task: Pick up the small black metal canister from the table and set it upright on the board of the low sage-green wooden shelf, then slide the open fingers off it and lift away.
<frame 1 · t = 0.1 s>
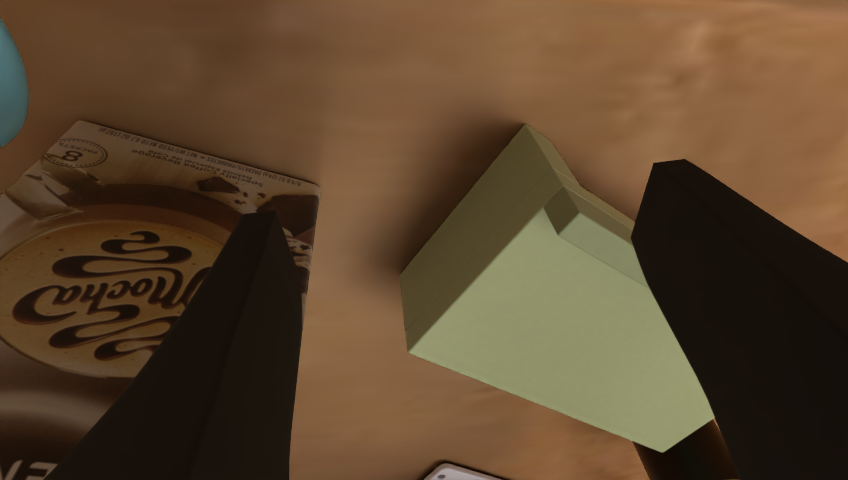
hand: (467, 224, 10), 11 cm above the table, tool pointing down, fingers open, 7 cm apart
shelf: (585, 276, 26), on the table
coffee box: (197, 212, 22), on the table
canister: (660, 410, 34), on the table
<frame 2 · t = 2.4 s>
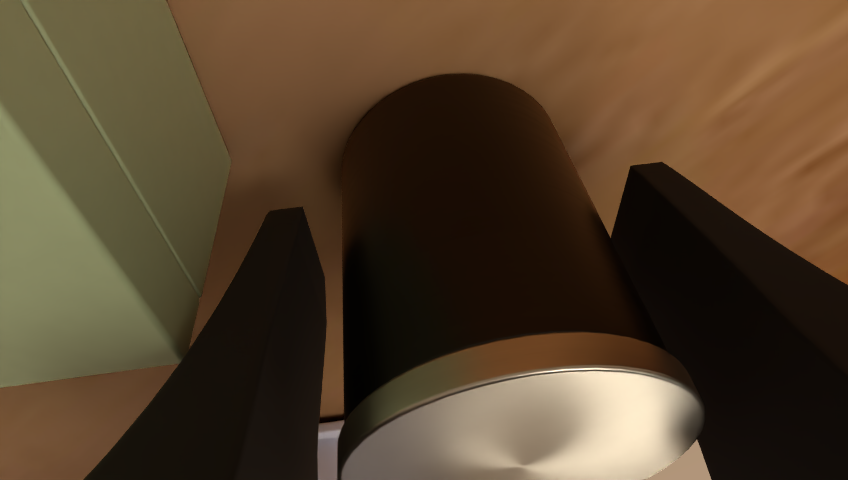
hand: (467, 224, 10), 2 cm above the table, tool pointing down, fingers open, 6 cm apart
canister: (450, 172, 12), on the table
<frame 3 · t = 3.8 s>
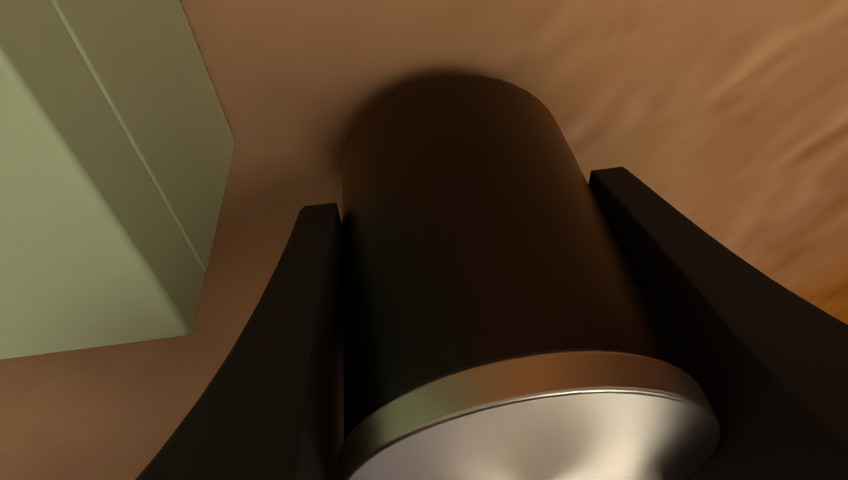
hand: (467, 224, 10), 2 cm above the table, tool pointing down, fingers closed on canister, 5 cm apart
canister: (453, 175, 12), point 1 cm above the table, touching gripper
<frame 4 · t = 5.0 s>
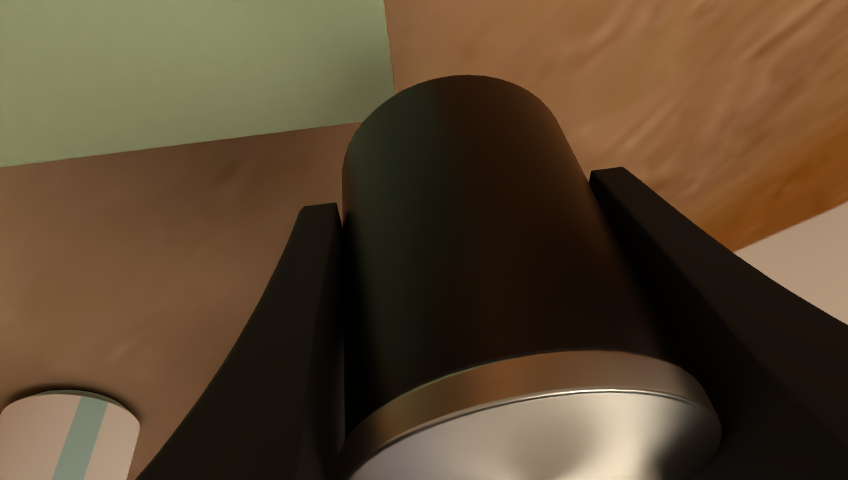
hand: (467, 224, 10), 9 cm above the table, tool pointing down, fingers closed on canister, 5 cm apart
canister: (454, 175, 12), point 8 cm above the table, touching gripper
can: (78, 409, 32), on the table
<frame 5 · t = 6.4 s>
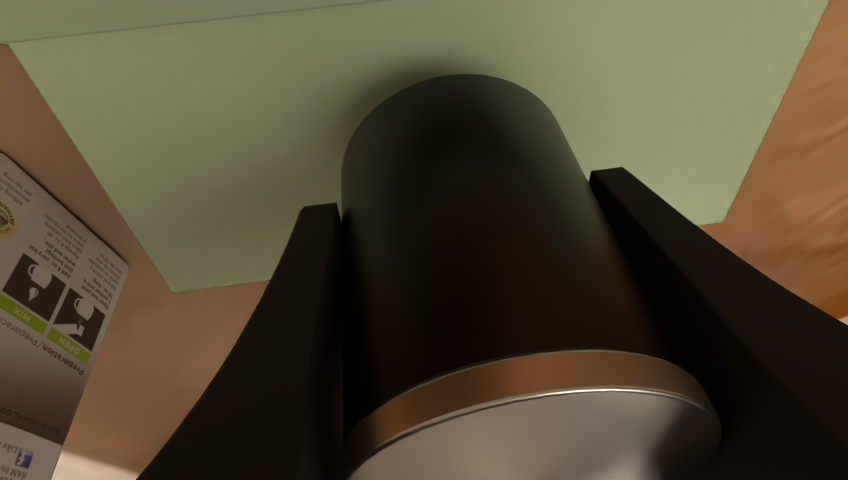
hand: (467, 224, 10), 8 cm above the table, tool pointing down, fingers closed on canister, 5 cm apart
shelf: (423, 31, 15), on the table
canister: (453, 174, 11), point 6 cm above the table, touching gripper
when the fingers open (6 cm above the table, at t = 7.3 s): canister stays where it is, resting on shelf.
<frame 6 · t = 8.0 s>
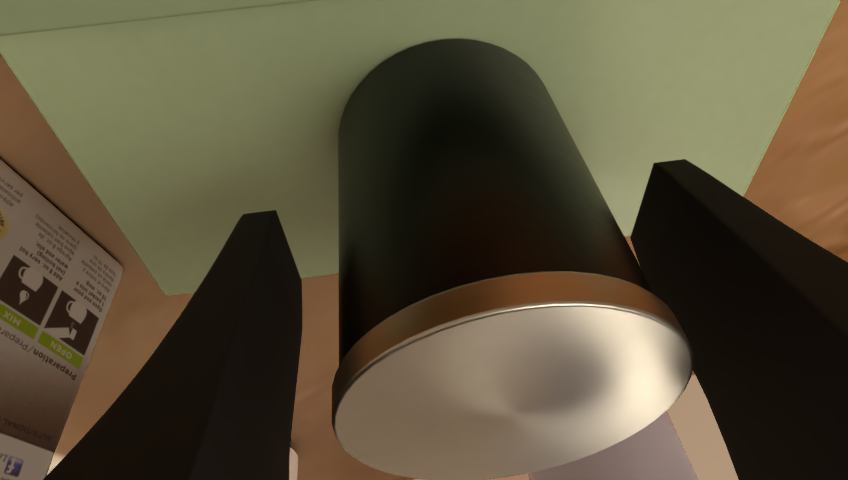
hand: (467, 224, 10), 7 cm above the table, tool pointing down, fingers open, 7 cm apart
shelf: (423, 27, 15), on the table
canister: (446, 141, 12), point 5 cm above the table, touching shelf
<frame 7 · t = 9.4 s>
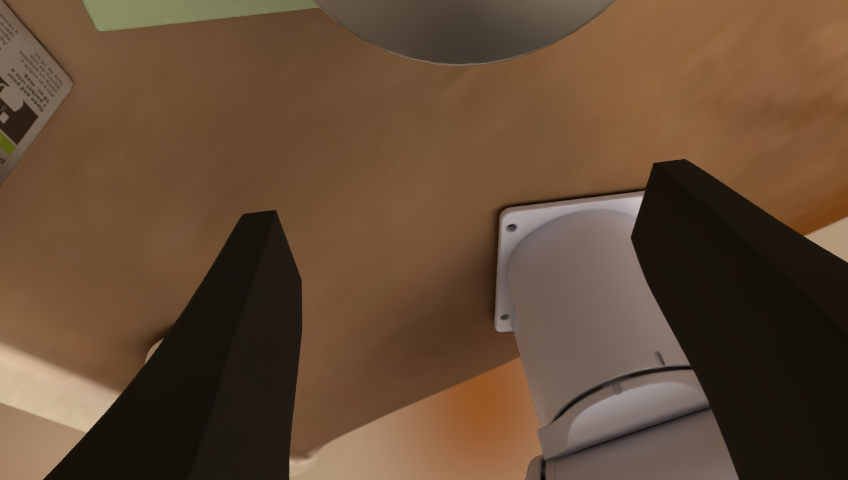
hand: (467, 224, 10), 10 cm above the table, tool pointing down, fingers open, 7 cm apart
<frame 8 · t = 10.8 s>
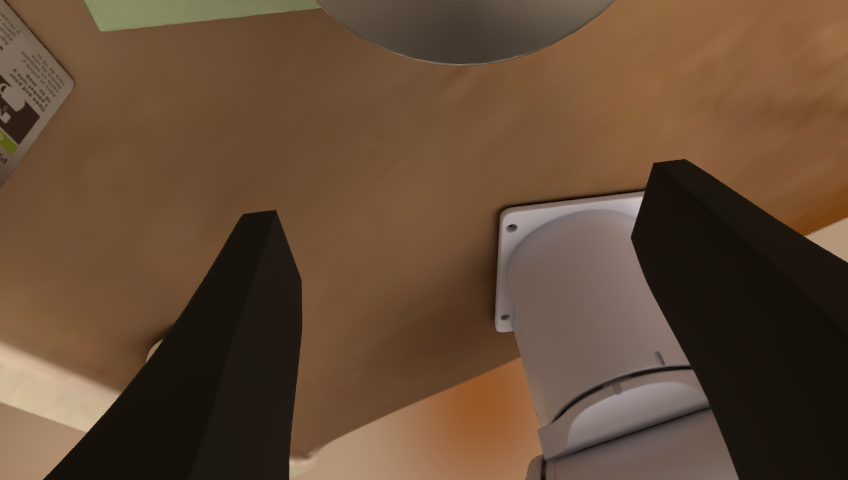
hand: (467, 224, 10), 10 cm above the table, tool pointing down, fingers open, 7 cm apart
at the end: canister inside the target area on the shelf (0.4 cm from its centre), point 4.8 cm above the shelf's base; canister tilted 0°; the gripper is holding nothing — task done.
